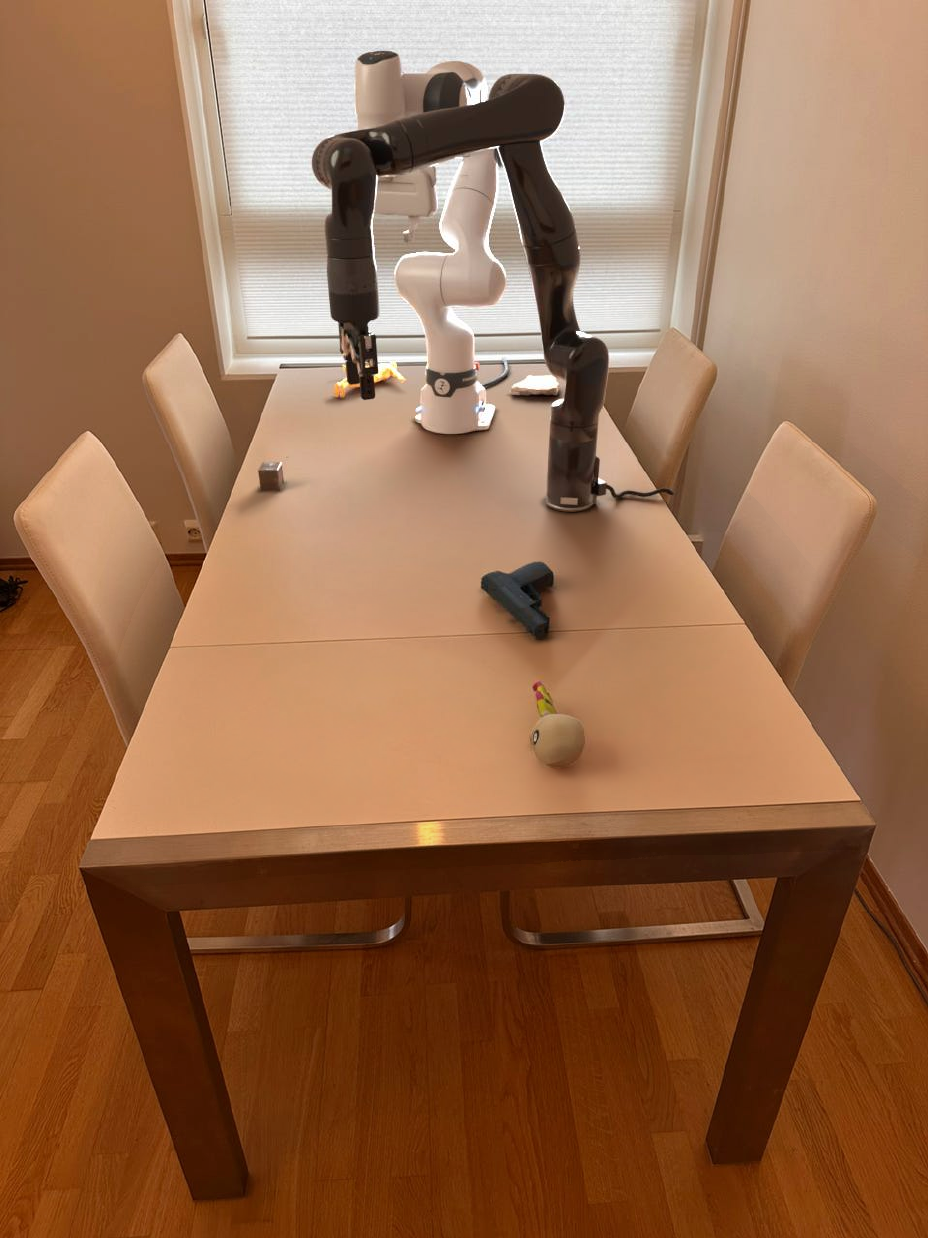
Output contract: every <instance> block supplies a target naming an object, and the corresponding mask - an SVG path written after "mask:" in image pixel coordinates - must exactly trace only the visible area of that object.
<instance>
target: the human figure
mask: <svg viewBox="0 0 928 1238" xmlns="http://www.w3.org/2000/svg"><path fill="white" fill-rule="evenodd" d="M342 367H343V368H342V370H343V371H344V372H346V365H345V364H342ZM366 367H370V366H369V365H366ZM378 369H379V373H378V374H375V375H374V384H376V383H378V382H381V381H383V380H387V379H389V378H390V377H391V376H392V377H393V378H395V379H397V380H398V381H399V382H400V383H404V382H405V381H407V379H408V377H405V376H402V375H401V373H399V372H398V371H397V369H398V366H397V363H396V362H394V361H389V362H388V363H385V362H384V363H378ZM355 387H358V388H360V383H359V384H353V385H350V384H349V383H348V382H347V376H345V377H344V378H343V379H342V380H341V381H340V382H336V383H335V384H334V390H333V394H334V396H335V397H340V398H344V397H345V396H346V389H348V388H355Z"/></svg>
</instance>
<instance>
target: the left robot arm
mask: <svg viewBox="0 0 928 1238" xmlns="http://www.w3.org/2000/svg"><path fill="white" fill-rule="evenodd" d="M353 81H354V82H353V97H354V101H353V102H354V114H355V116H356V121H357V130H363V129H370V128H375V127H379V126H382V125H385V124H387V123H390V122H392V121H396V120H399V119H402V118H406V117H409V116H413V115H416V114H420V113H425V112H430V111H435V110H441V109H448V108H454V107H461V106H466V105H471V104H476V103H480V102H483V101H486V99H487V94H488V85H487V81H486V78H485V76H484V74H483V72H482V71H481V70H480V69H479V68H478V67H477V66H474V65H473V64H471V63H468V62H465V61H460V60H449V61H444V62H440V63H437V64H435V65H433V66H432V67H431V68H430V69H429V70H427V71H426V73H405V72H404V71H403V69H402V63H401V58H400V55H399V54H398V53H397V52H394V51H391V50H374V51H368V52H365V53H362V54H360V55H359V57H357V58H356V60H355V66H354V79H353ZM456 159H460V160H461V163H460V165H459V167H458V169H457V171H456V173H455V175H454V177H453V178H452V179H453V180H452V181H451V185H450V187H449V189H448V194H447V196H446V200H445V202H444V203H445V204H444V206H443V210H442V213H441V218H440V221H439V231H440V234H441V237H442V239H443V240H444V242H445V243H446V244H447V245H448V246H450V247H451V248H452V249H454V250H455V251H454V252H453V253H443V252H429V251H422V252H416V253H410V254H409V253H408V254H405V255H403V256H402V257H401V258H400V259H399V261H398V263H397V264H396V266H395V269H394V276H393V277H394V278H393V279H394V285H395V288H396V291H397V293H398V294H399V296H400V297H401V298H402V299H403V300H404V301H406V302H407V303H408V304H409V306H410V307H411V308H412V309H413V310H414V312H415V313H416V316H417V318H418V319H419V321H420V323H421V325H422V329H423V333H424V337H425V348H426V362H427V363H426V366H425V371H424V372H425V373H424V376H425V383H426V384H425V385H424V386H422V387H421V389H420V402H419V403H420V406H418V407H417V408H415V412H416V413H417V412H419V414H417V415H416V416H415V417H414V421H415V422H416V423H418V424H420V425H421V426H422V428H423V429H425V430H427V431H429V432H431V433H435V434H444V435H459V434H466V433H467V434H468V433H471V432H475V431H486V430H489V429H490V426H491V423H492V420H493V418H494V415H495V413H496V406H495V405H493V404H489V403H487V389H486V387H489V386H492V385H494V384H496V383H498V382H499V381H502V380H503V379H504V378H505V377H506V376H507V375H508V372H509V365H508V361H507V359H506V357H505V356H503V357H502V358H501V361H502V362H503V366H504V371H503V373H502V374H501V375H499V376H498V377H496V378H494V379H492V380H490V381H487V382H484V383H482V384H481V383H480V382H479V381H478V371H479V369H480V363H479V361H475V334H474V332H473V330H472V329H471V328H470V326H469V325H468V324H466V323H465V322H463V321H462V320H460V319H459V318H458V317H457V315H456V314H455V313H454V311H453V308H452V307H456V308H457V307H458V308H467V309H468V308H470V309H480V308H489V307H494V306H496V305H497V304H498V303H499V302H500V301H501V299H502V298H503V296H504V294H505V291H506V287H507V275H506V271H505V269H504V267H503V265H502V264H501V263H500V261H499V260H498V259H496V258H495V257H494V255H493V254H492V252H491V250H490V247H489V234H490V229H491V225H492V220H493V216H494V212H495V209H496V203H497V200H498V199H497V198H498V191H499V179H500V177H499V170H498V168H499V169H504V166H503V163H502V160H501V157H500V154H499V151H498V148H497V147H494V148H489V149H485V150H481V151H477V152H474V153H470V154H467V155H464V156H460V157H457V158H456ZM435 166H436V165H433V166H430V167H427V168H424V169H421V170H418V171H415V172H412V173H408V174H405V175H401V176H394V177H391V176H382V177H377V188H376V197H375V206H374V213H373V215H379V216H380V215H381V216H399V217H400V216H401V217H403V216H404V217H407V219H408V223H409V224H410V225H409V228H408V230H406V231H403V242H404V243H411V244H412V243H414V242H415V241H416V240H415V239H416V238H415V237H416V236H415V235H416V234H415V232H416V230H417V228H418V227H419V224H420V222H421V218H429V217H433V216H435V214H436V213H437V212H438V210H439V201H438V191H437V186H436V184H437V169H436V167H435ZM330 192H331V195H330V196H331V197H332V190H331V189H330Z"/></svg>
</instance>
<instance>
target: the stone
mask: <svg viewBox="0 0 928 1238" xmlns="http://www.w3.org/2000/svg"><path fill="white" fill-rule="evenodd" d="M559 390H560V383H559V382H558V381H557V378H556V377H554V376H553V375H552V374H551V375H526V378H525V379H524V380H521V381H519V382H517V383H514V384H513V385H512V386H511V388H510V390H509V395H512V396H513V395H515V396H520V395H521V396H530V395H535V396H536V395H538V396H539V395H545V396H550V395H553V396H557V395H558V393H559Z"/></svg>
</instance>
